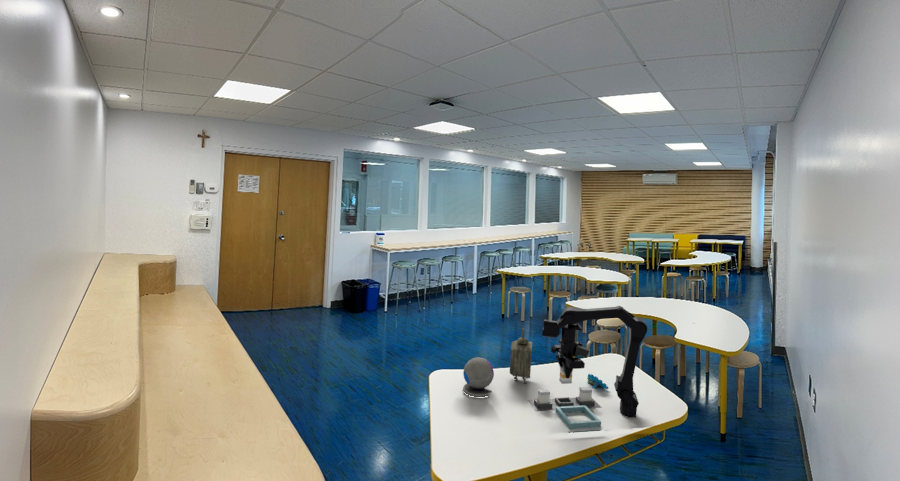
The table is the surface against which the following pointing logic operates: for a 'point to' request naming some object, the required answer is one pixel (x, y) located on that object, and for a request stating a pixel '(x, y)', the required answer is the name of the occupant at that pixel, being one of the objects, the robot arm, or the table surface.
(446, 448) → the table surface
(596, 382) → the gear
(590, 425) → the tray
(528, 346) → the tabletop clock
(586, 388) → the white fuse right
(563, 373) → the marked fuse
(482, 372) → the webcam
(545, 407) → the fuse holder
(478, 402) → the table surface
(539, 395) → the block
